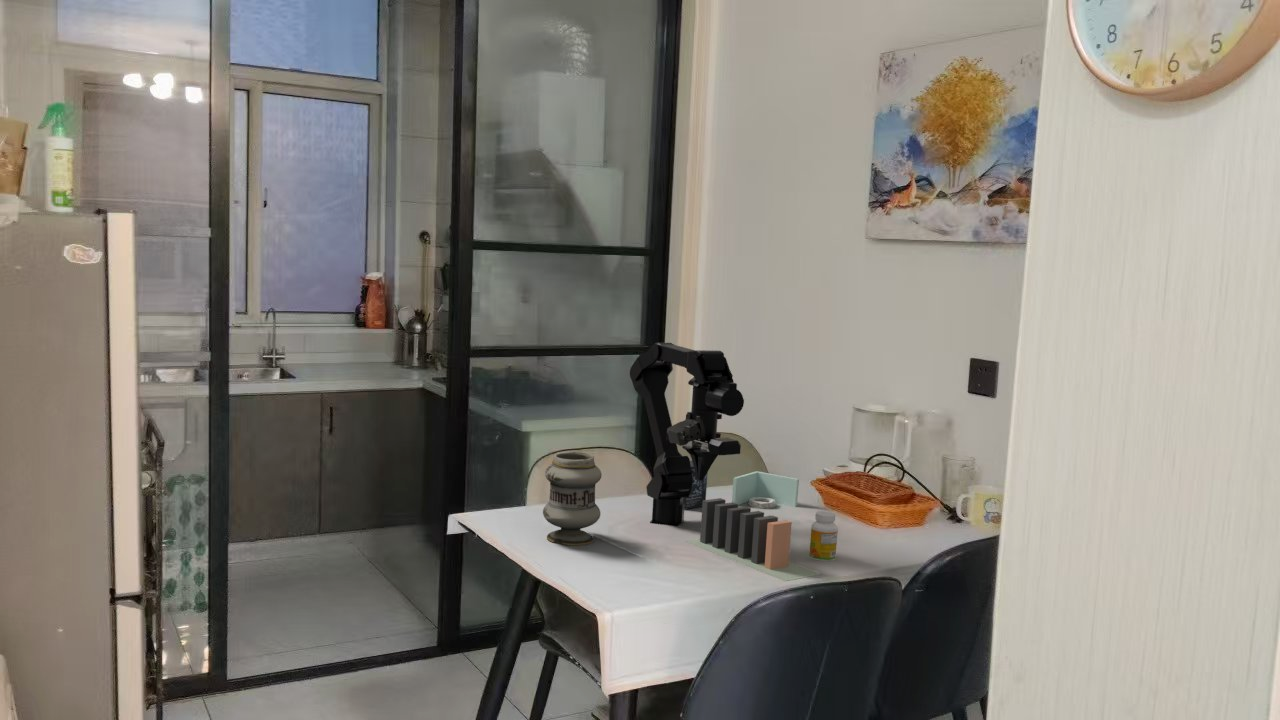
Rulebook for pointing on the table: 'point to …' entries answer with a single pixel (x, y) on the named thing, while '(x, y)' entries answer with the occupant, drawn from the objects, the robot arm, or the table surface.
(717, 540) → the domino
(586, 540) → the apothecary jar
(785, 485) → the right angle wall
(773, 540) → the domino
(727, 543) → the domino
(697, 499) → the box
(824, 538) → the supplement bottle
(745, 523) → the domino
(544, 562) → the table surface
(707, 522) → the domino
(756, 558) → the domino
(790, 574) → the rack
